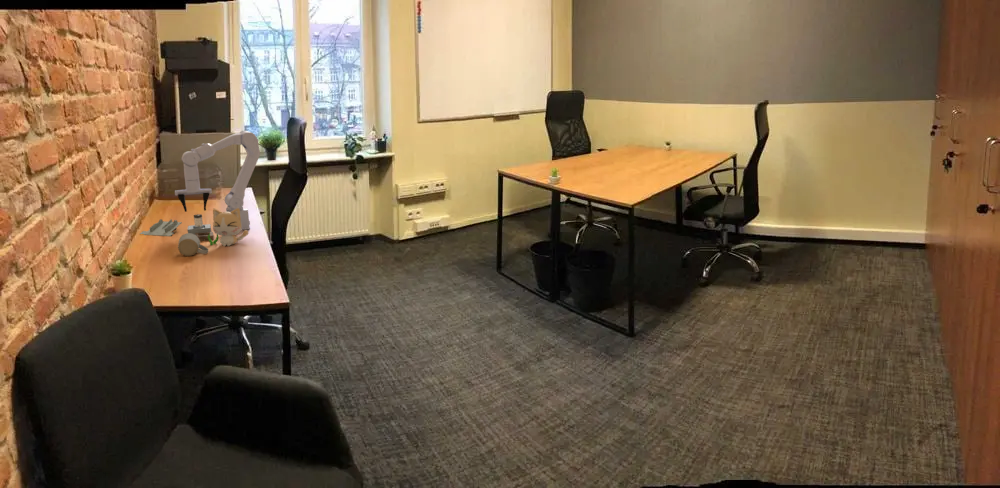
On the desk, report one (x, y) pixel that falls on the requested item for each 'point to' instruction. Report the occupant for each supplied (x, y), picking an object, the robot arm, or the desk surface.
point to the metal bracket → (162, 228)
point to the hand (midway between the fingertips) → (195, 210)
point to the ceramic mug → (191, 245)
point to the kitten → (227, 227)
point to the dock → (199, 229)
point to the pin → (198, 221)
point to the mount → (204, 236)
